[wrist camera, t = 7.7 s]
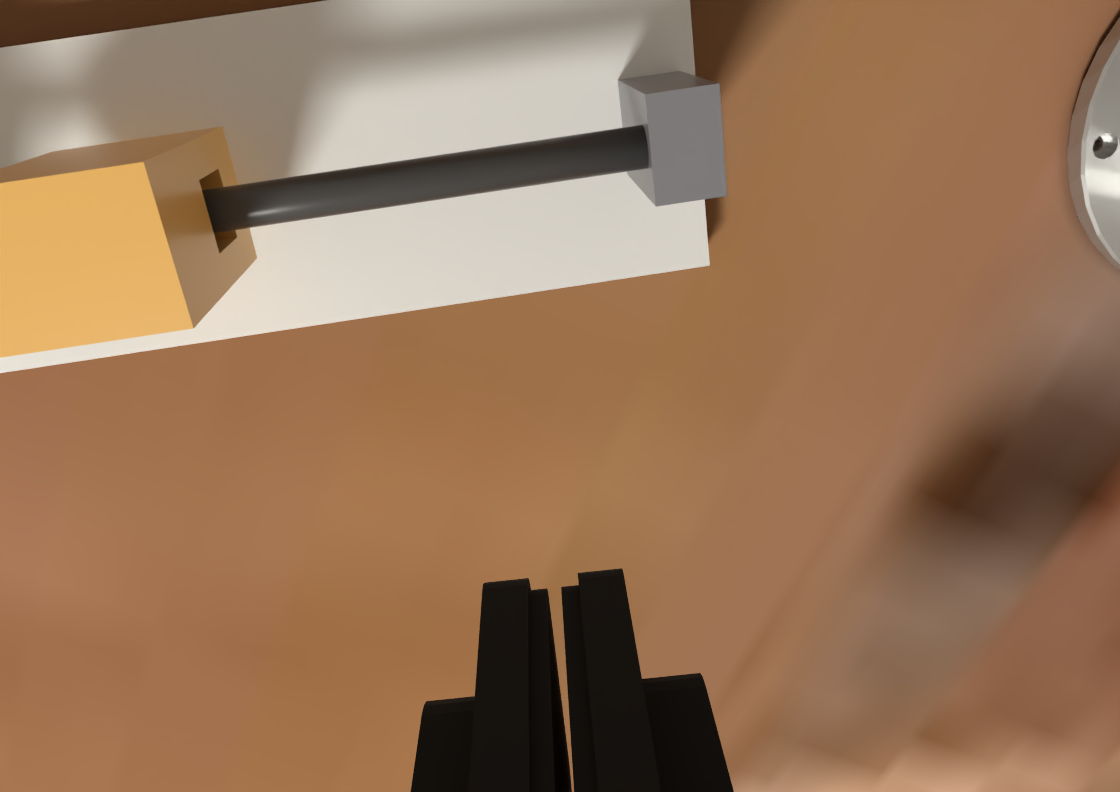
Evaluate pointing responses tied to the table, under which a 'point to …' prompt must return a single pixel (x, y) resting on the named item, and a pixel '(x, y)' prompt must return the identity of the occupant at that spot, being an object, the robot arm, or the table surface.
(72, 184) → the sleeve
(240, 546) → the table surface
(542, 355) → the table surface
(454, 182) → the board
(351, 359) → the table surface
